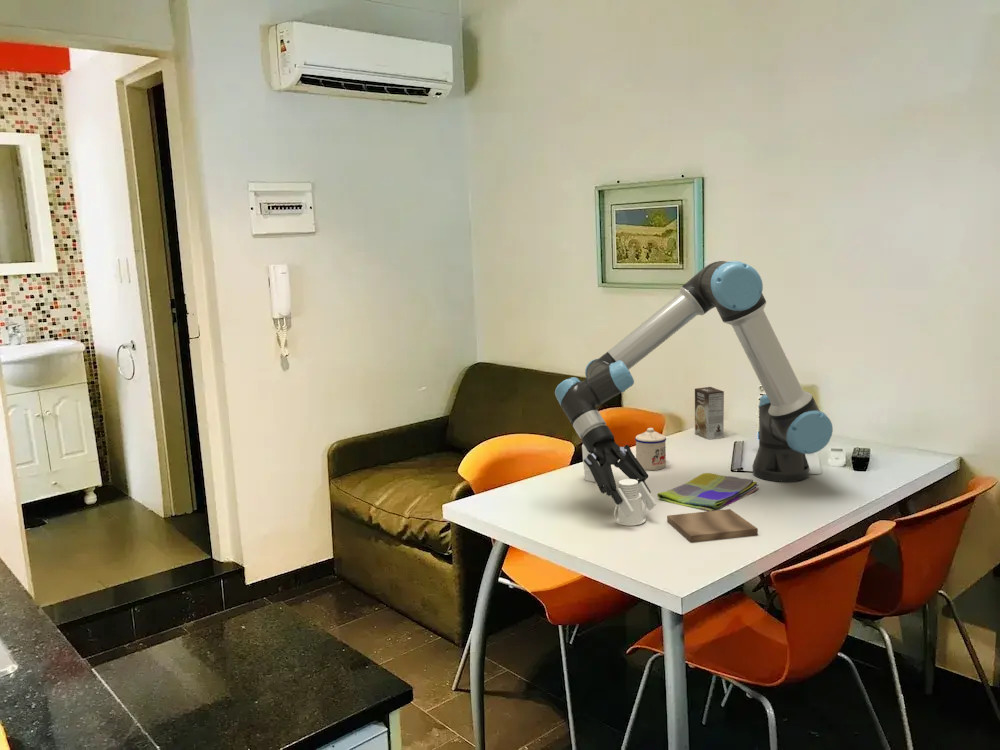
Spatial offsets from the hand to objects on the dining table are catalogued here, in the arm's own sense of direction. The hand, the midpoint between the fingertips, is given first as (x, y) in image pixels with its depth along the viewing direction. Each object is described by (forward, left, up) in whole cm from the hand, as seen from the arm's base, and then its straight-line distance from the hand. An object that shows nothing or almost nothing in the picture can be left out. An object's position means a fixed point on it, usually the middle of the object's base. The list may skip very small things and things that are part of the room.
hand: (641, 510), depth 190 cm
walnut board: (-14, +7, -3) cm, 16 cm away
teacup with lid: (-20, -47, -4) cm, 51 cm away
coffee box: (-51, -75, -4) cm, 91 cm away
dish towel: (-24, -17, -4) cm, 30 cm away
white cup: (0, -39, -4) cm, 39 cm away
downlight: (+2, -3, -4) cm, 5 cm away
